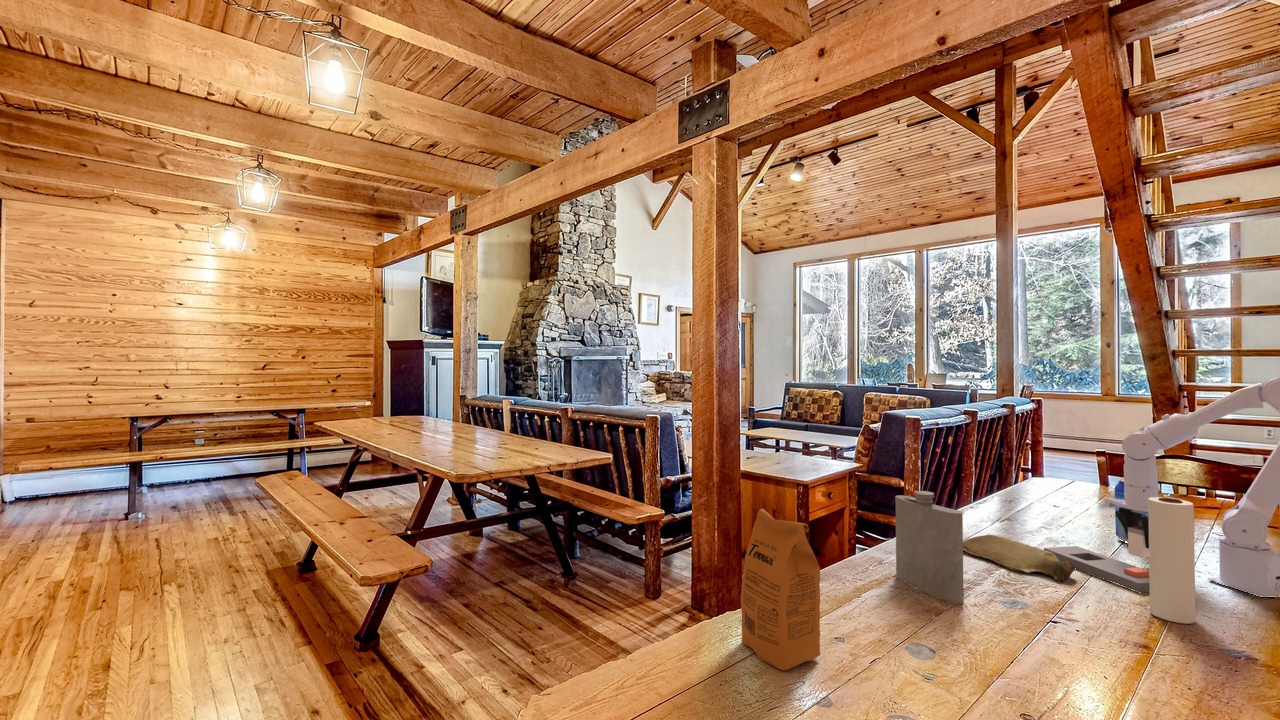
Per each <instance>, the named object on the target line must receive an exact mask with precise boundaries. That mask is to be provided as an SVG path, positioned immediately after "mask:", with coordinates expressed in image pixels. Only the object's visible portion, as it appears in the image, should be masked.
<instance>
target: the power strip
mask: <svg viewBox="0 0 1280 720" xmlns="http://www.w3.org/2000/svg"><path fill="white" fill-rule="evenodd" d="M1043 550H1046V551H1049V552H1052V553H1054V554H1055V556H1056V557H1057V559H1058V560H1059V561H1070V563H1071V564H1072V565H1073V566H1074V568H1077V569H1076V570H1078V569H1080V570H1082V571H1081V572H1083V571H1084V572H1083V573H1086V572H1087V573H1086V574H1088V573H1090V574H1089V575H1091V574H1093V575H1095V576H1094V577H1096V576H1098V577H1101V578H1104V579H1106V580H1109V581H1112V582H1115V583H1118V584H1120V585H1123V586H1125V587H1127V588H1130V589H1133V590H1135V591H1138V592H1147V593H1150V592H1149V591H1150V576H1149V570H1147V569H1145V568H1142V567H1138V566H1136V565H1132V564H1129V563H1128V562H1125V561H1121V560H1118V559H1116V558H1112V557H1109V556H1108V555H1107V556H1106V555H1103V554H1100V553H1097V552H1095V551H1091V550H1089V549H1086V548H1084V547H1080V546H1077V545H1073V546H1072V545H1071V546H1057V547H1055V546H1054V547H1044V548H1043ZM1080 570H1079V571H1080ZM1093 575H1092V576H1093ZM1098 577H1097V578H1098ZM1101 578H1100V579H1101ZM1104 579H1103V580H1104ZM1106 580H1105V581H1106ZM1109 581H1108V582H1109ZM1127 588H1126V589H1127ZM1135 591H1134V592H1135Z"/></svg>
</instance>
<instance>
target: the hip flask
mask: <svg viewBox="0 0 1280 720" xmlns="http://www.w3.org/2000/svg"><path fill="white" fill-rule="evenodd" d="M934 498H935V492H932V491H928V490H916V491H914V496H909V495H903V494H902V495H896V496H895V567H896V568H895V572H896V574H895V575H896V578H897V579H898V580H900V581H902V582H904V581H905V582H906V584H907V583H908V584H907V585H909V584H910V585H909V586H911V585H912V586H911V587H913V586H914V587H913V588H915V587H916V588H915V589H917V588H918V589H917V590H919V589H920V590H919V591H921V590H922V591H921V592H923V591H924V592H923V593H925V592H926V594H927V593H928V594H927V595H930V596H932V595H933V597H934V596H935V597H934V598H937V599H939V598H940V600H942V599H943V600H942V601H944V600H945V601H944V602H947V603H949V604H954V605H962V604H964V599H965V598H964V596H965V595H964V594H965V593H964V550H963V542H964V540H963V539H964V533H963V532H964V531H963V530H964V528H963V527H964V525H963V511H961V510H958V509H955V508H954V509H953V508H949V507H945V506H941V505H937V504H934ZM905 582H904V583H905Z"/></svg>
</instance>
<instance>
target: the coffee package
mask: <svg viewBox="0 0 1280 720" xmlns="http://www.w3.org/2000/svg"><path fill="white" fill-rule="evenodd" d="M809 530H810V529H809V525H807V524H806V523H804V522H803V523H802V522H798V521H787V520H782V519H775V518H774V517H772V515H770V513H769V512H767V511H766V509H764V508H760V509H759V510H758V512H757V514H756V519H755V522H754V524H753V527H752V532H751V535H750V537H749V538H750V539H749V542H748V544H747V549H746V552H745V555H744V556H745V557H744V563H743V573H742V581H741V582H742V583H741V584H742V585H741V590H740V591H741V592H740V593H741V595H740V609H741V644H742V645H744V646H746V647H748V648H751V649H752V650H753V651H754V653H755V655H756V656H757V658H758V659H759V660H760V661H762V662H764V663H765V664H767V665H768V664H769V665H771V666H772V667H773V666H774V667H776V668H777V669H778V670H780V671H789V670H790V669H792V668H795V667H797V666H799V665H801V664H803V663H805V662H810V661H814V660H816V658H818V657H820V656H821V644H820V643H821V642H820V640H821V632H820V631H821V628H820V627H821V625H820V624H821V623H820V622H821V621H820V620H821V612H820V611H821V610H820V605H821V587H820V586H821V584H820V583H821V567H820V565H819V562H818V560H817V557H816V556H815V553H814V550H813V549H812V546H811V545H810V543H809V541H808V539H807V536H806V533H809Z"/></svg>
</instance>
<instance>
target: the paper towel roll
mask: <svg viewBox="0 0 1280 720" xmlns="http://www.w3.org/2000/svg"><path fill="white" fill-rule="evenodd" d="M1194 509H1195V507H1194V503H1193V502H1191V501H1188V500H1184V499H1180V498H1176V497H1171V496H1168V495H1166V497H1161V496H1160V497H1159V496H1158V497H1151V498H1148V516H1149V557H1148V559H1149V561H1148V562H1149V565H1148V566H1149V567H1148V568H1149V570H1148V571H1149V576H1150V592H1149V611H1150V613H1151V614H1152V615H1153V616H1155V617H1157V618H1159V619H1162V620H1165V621H1169V622H1172V623H1173V622H1174V623H1176V624H1185V625H1186V624H1187V625H1188V624H1194V623H1196V620H1197V619H1196V569H1195V567H1196V566H1195V564H1196V563H1195V562H1196V561H1195V557H1196V556H1195V513H1194Z"/></svg>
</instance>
